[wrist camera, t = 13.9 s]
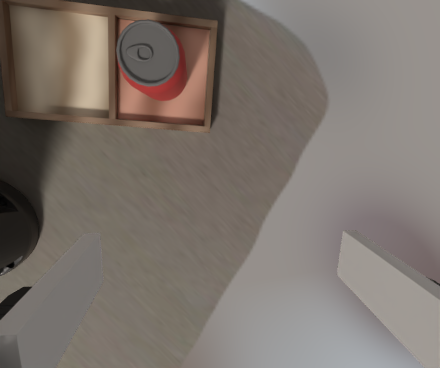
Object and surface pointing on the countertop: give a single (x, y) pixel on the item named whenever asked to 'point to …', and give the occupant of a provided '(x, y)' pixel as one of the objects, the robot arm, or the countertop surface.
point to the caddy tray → (96, 66)
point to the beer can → (152, 59)
